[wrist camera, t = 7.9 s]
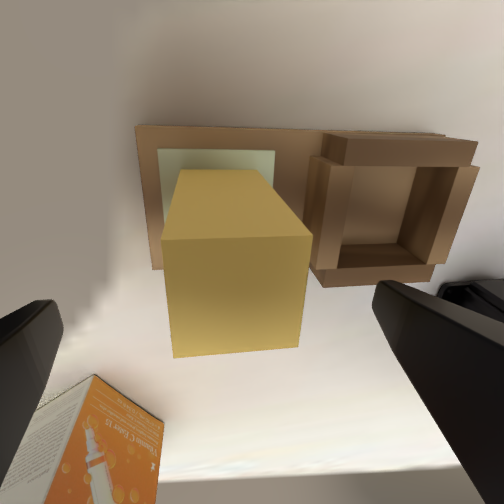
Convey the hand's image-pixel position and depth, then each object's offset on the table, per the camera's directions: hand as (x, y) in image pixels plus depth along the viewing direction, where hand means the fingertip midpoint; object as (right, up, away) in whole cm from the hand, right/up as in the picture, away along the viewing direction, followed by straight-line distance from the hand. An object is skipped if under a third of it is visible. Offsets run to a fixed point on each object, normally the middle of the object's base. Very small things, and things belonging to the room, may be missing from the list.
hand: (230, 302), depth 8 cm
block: (-1, +4, +8) cm, 9 cm away
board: (+3, +5, +10) cm, 11 cm away
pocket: (+7, +5, +11) cm, 14 cm away
